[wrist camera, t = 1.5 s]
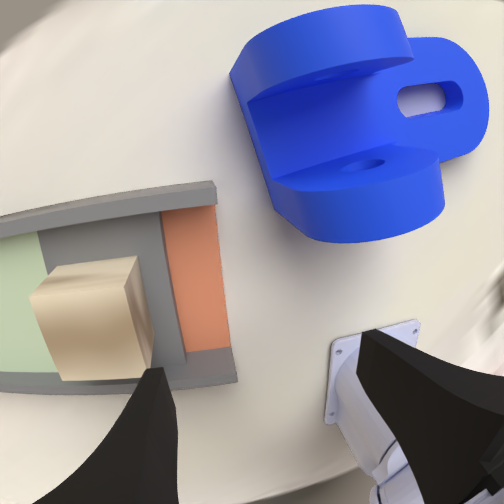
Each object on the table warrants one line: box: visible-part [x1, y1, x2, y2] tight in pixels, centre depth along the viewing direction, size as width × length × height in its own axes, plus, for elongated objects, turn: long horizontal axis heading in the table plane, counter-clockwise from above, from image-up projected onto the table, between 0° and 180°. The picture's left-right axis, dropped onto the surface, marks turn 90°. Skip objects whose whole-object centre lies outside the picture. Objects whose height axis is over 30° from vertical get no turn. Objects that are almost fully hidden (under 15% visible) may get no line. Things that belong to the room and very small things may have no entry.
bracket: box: [229, 5, 489, 243], centre depth 14 cm, size 18×8×9 cm, turn 107°
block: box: [29, 256, 155, 381], centre depth 15 cm, size 5×5×4 cm
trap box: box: [0, 181, 238, 395], centre depth 16 cm, size 12×27×3 cm, turn 93°
